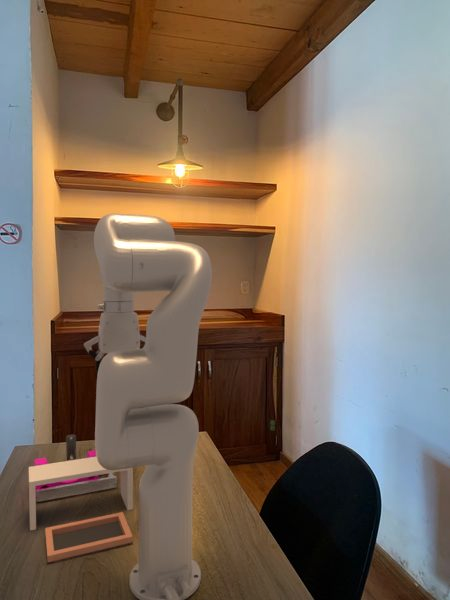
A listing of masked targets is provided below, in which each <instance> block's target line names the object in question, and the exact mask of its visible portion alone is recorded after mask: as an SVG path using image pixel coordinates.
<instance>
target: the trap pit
mask: <svg viewBox="0 0 450 600" xmlns="http://www.w3.org/2000/svg"><path fill="white" fill-rule="evenodd" d="M44 530H45V531H44V532H45V534H44V535H45V546H46V547H45V548H46V561H47V565H50V564H53V563H57V562H62V561H65V560H70V559H74V558H78V557H82V556H86V555H90V554H95V553H100V552H104V551H108V550H111V549H115V548H116V549H117V548H120V547H124V546H128V545H132V544H134V543H133V542H134V541H133V539H134V536H133V534H132V531H131V528H130V526H129V524H128V521H127V519H126V517H125V513H124V511H121V512H117V513H111V514H106V515H102V516H96V517H92V518H88V519H82V520H77V521H72V522H68V523H64V524H58V525H53V526H49V527H45V528H44Z"/></svg>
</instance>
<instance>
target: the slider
mask: <svg viewBox="0 0 450 600" xmlns="http://www.w3.org/2000/svg"><path fill="white" fill-rule="evenodd" d="M65 442H66V443H65V448H66V451H65V453H66V456H65V459H66V460H65V461H70V460H77V435H76V434H68V435H66V437H65ZM106 475H107V477H102V478H98V479H95V480H90V481H84V482H78V483H72V484H67V485H61V486H55V487H50V488H44V489H38V490H37V493H35V494H36V496H37V499H36V503H37V502H43V501H50V500H55V499H56V500H57V499H60V498H61V499H62V498H66V497H71V496H77V495H83V494H87V493H93V492H99V491H103V490H110V489H114V488H117V487H118V484H117V483H118V478H117V475H114V473H108V474H106Z"/></svg>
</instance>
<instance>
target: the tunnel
mask: <svg viewBox="0 0 450 600" xmlns="http://www.w3.org/2000/svg"><path fill="white" fill-rule="evenodd" d="M133 469H134V467H133V468H127V469H120V470H107V469H105V468H103V467H102V466H101V465H100V464H99V462H98V460H97V457H90V458H86V457H85V458H78V459H77V458H76V460H70V461H66V460H65V461H60V462H59V461H58V462H53V463H48V464H44V465H38V466H35V465H34V466H33V465H32V466H28V495H29V499H28V503H29V507H28V509H29V531H34V530H37V507H36V505H37V499H36V493H35V486H38V485H43V484H49V483H55V482H61V481H67V480H73V479H78V478H84V477H90V476H96V475H98V476H101V475H107V474H108V473H113V474H114V473H117V472H118V473H119V472H120V496H121V498H122V500H123V503H124V505H125V508H126V510H127V511H130V510H134V496H133V495H134V490H133V488H134V485H133V484H134V482H133V481H134V479H133V478H134V477H133V476H134V475H133V474H134V473H133V472H134V471H133Z"/></svg>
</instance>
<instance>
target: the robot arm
mask: <svg viewBox="0 0 450 600" xmlns="http://www.w3.org/2000/svg"><path fill="white" fill-rule="evenodd" d="M171 225H172V224H170V223H169V222H168V221H167V220H166V219H164V218H161V217H158V216H155V215H146V214H132V213H131V214H127V213H108V214H105V215H103V216H102V217H100V219H99V220H98V222H97V224H96V225H95V228H94V234H93V244H94V245H93V247H94V252H95V257H96V258H97V262H98V266H99V268H100V269H99V270H100V271H99V276H100V277H99V278H100V281H101V283H102V284H103V291H102V292H103V300H102V302H101V303H97V309H98V310H102V313H100V318H99V325H98V335H97V336H95V337H93V338H90V340H87V341H86V342H84V343H83V346H84V348H85V350H86V351H87V353H88V355H89V356H90V357H92V358H93V359H94V362H95V364H94V365H95V367H94V368H95V371H94V372H95V373H96V374H97V376H96V377H97V378H96V392H95V394H96V396H95V398H96V399H95V427H94V430H95V431H94V450H95V451H96V457H97V460H98V462H99V464H100V465H101V466H102V467H103V468H105V469H107V470H120V469H127V468H133V469H134V468H138V467H143V466H146V467H145V469H144V471H143V473H142V475H141V478H140V481H139V485H138V489H137V490H138V493H137V495H138V496H137V517H138V518H137V519H138V520H137V525H138V527H137V530H138V531H137V535H138V536H137V538H138V539H137V540H138V541H137V542H138V543H137V544H138V545H137V548H138V549H137V550H138V551H137V552H138V553H137V555H138V556H137V558H138V559H137V561H138V562H137V563H136V564H135V565H134V567H132V569H131V571H130V573H129V577H128V579H129V581H128V582H129V589H130V591H131V594H133V595H134V596H135V598H137V599H139V600H186V599H188V598H189V597H190V596H192V595H193V594H194V593H195V592H196V591H197V590H198V588H199V587H200V583H201V581H202V579H201V578H202V572H201V567H200V565H199V564H198V562H197V561H196V560H194V559H193V495H194V492H193V491H194V490H193V488H194V465H195V459H196V451H197V446H198V440H199V431H200V430H199V427H200V426H199V421H198V418H197V415H196V413H195V412H194V410H192V409H191V408H189V407H188V406H186V405H182V404H177V403H181V402H183V401H185V400H187V399H188V398H190V396H191V394H192V392H193V389H194V384H195V376H196V365H197V355H198V353H197V352H198V341H199V340H198V338H199V329H200V324H201V321H202V316H203V314H204V311H205V308H206V305H207V303H208V299H209V296H210V291H211V288H212V283H213V282H212V279H213V277H212V276H213V269H212V262H211V258H210V256H209V254H208V252H207V251H206V250H205V249H204V248H203V247H201V246H200V245H197V244H195V243H191V242H184V241H177V240H176V237H175V236H176V235H175V231H174V228H173V227H172V226H171ZM136 292H137V293H144V292H146V293H147V292H151V293H152V292H153V293H154V292H169V293H168V294H167V295H166V296H164V298H163V299H162V300H160V301H159V302H158V304H157V305H156V306H155V307H154V309H153V311H151V313H150V315H149V316H148V319H147V321H146V325H145V326H146V328H145V329H146V331H145V332H146V334H145V336H144V335H142V334H141V333H140V332H141V331H140V323H139V317H138V313H137V312H135V309H134V304H135V302H134V300H135V299H134V298H135V297H134V293H136ZM141 341H142V342H144V345H143V347H141ZM97 343H98V344H97ZM95 344H97V347H98V350H97V351H96V352H95V350H93V349H92V347H93V345H95ZM105 354H106V355H105ZM104 355H105V356H104Z"/></svg>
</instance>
